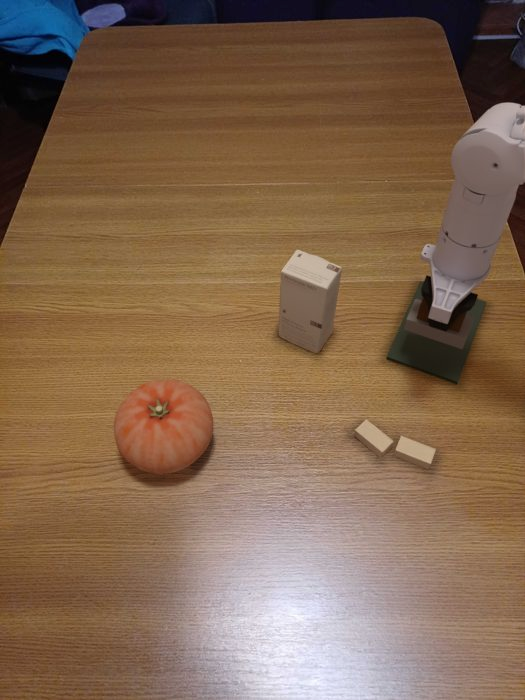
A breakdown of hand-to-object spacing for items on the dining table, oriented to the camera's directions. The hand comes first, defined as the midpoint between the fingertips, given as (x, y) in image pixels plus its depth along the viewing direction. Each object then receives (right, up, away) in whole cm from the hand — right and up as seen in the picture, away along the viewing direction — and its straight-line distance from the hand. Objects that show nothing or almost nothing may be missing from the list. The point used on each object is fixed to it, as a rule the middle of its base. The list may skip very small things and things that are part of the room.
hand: (442, 317), depth 71 cm
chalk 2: (-4, -16, -2) cm, 16 cm away
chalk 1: (-8, -14, -1) cm, 16 cm away
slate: (+2, -1, +8) cm, 8 cm away
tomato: (-31, -14, 0) cm, 35 cm away
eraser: (0, -1, +2) cm, 2 cm away
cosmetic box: (-15, -2, +9) cm, 17 cm away
